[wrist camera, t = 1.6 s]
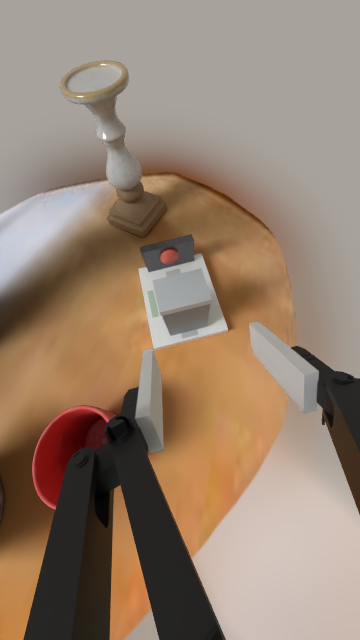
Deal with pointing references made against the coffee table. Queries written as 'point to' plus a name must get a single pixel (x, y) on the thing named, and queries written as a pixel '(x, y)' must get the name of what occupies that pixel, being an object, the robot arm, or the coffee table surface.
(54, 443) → the flower pot
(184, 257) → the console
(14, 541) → the coffee table surface
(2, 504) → the plant pot
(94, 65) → the candle holder
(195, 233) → the coffee table surface
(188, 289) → the grey rectangular block
